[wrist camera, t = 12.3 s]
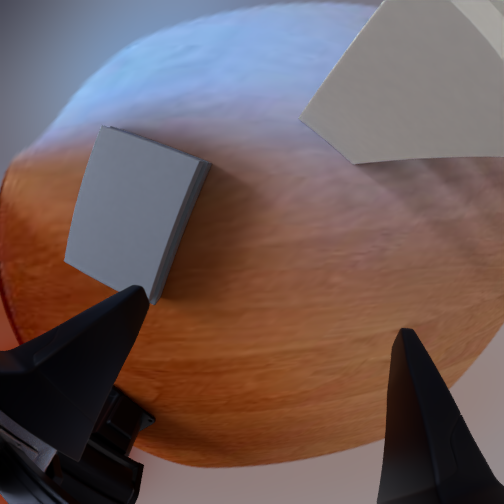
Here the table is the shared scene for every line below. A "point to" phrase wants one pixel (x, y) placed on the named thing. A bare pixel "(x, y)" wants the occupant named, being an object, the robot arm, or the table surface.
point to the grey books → (133, 210)
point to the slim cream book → (417, 85)
